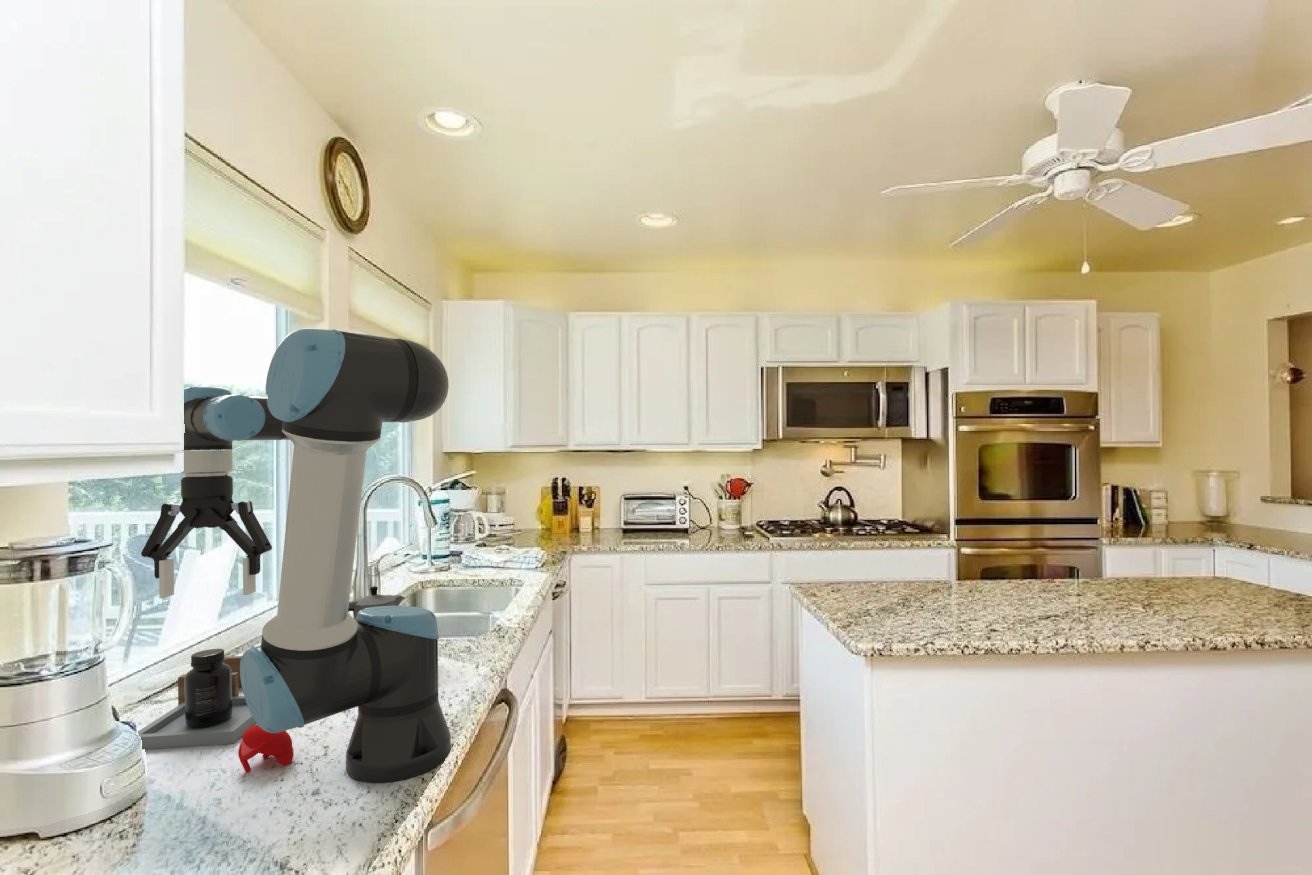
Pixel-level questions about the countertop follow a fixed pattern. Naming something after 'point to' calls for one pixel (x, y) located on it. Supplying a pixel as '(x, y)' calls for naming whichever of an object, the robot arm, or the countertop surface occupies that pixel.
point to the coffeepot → (374, 601)
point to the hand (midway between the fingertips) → (208, 595)
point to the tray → (177, 734)
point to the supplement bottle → (208, 689)
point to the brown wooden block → (236, 679)
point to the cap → (265, 746)
